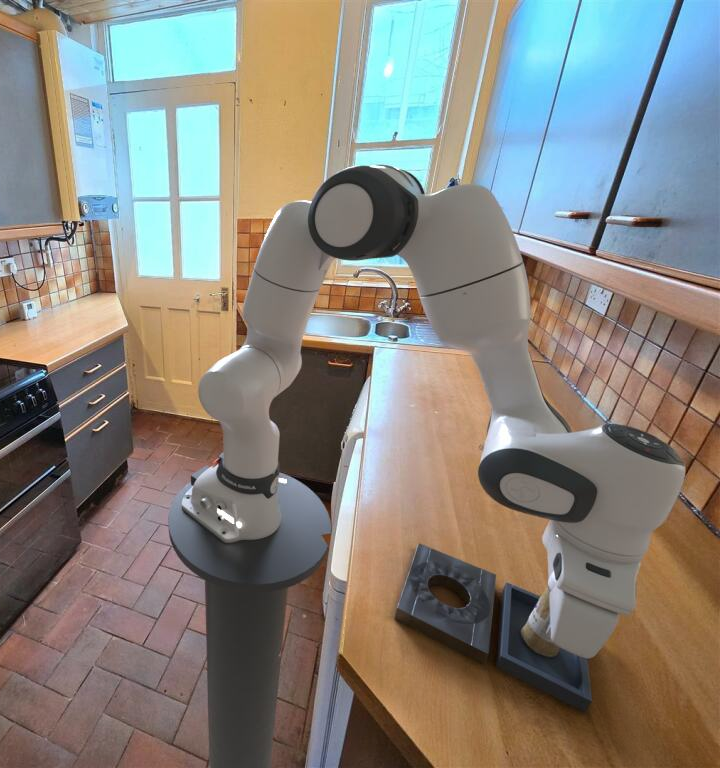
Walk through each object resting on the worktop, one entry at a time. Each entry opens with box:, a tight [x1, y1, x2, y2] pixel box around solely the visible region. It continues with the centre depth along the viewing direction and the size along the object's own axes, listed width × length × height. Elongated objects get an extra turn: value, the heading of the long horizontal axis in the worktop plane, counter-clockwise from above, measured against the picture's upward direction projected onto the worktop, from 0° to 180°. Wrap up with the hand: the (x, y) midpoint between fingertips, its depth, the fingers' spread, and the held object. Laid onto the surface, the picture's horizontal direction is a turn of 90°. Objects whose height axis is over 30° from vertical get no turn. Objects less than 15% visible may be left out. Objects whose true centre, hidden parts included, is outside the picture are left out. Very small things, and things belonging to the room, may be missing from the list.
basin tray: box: [495, 581, 593, 713], centre depth 59 cm, size 10×15×2 cm, turn 144°
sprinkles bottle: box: [521, 572, 560, 657], centre depth 56 cm, size 5×5×14 cm
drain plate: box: [394, 542, 497, 666], centre depth 66 cm, size 12×16×2 cm
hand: (552, 617), depth 57 cm, fingers open, 5 cm apart
